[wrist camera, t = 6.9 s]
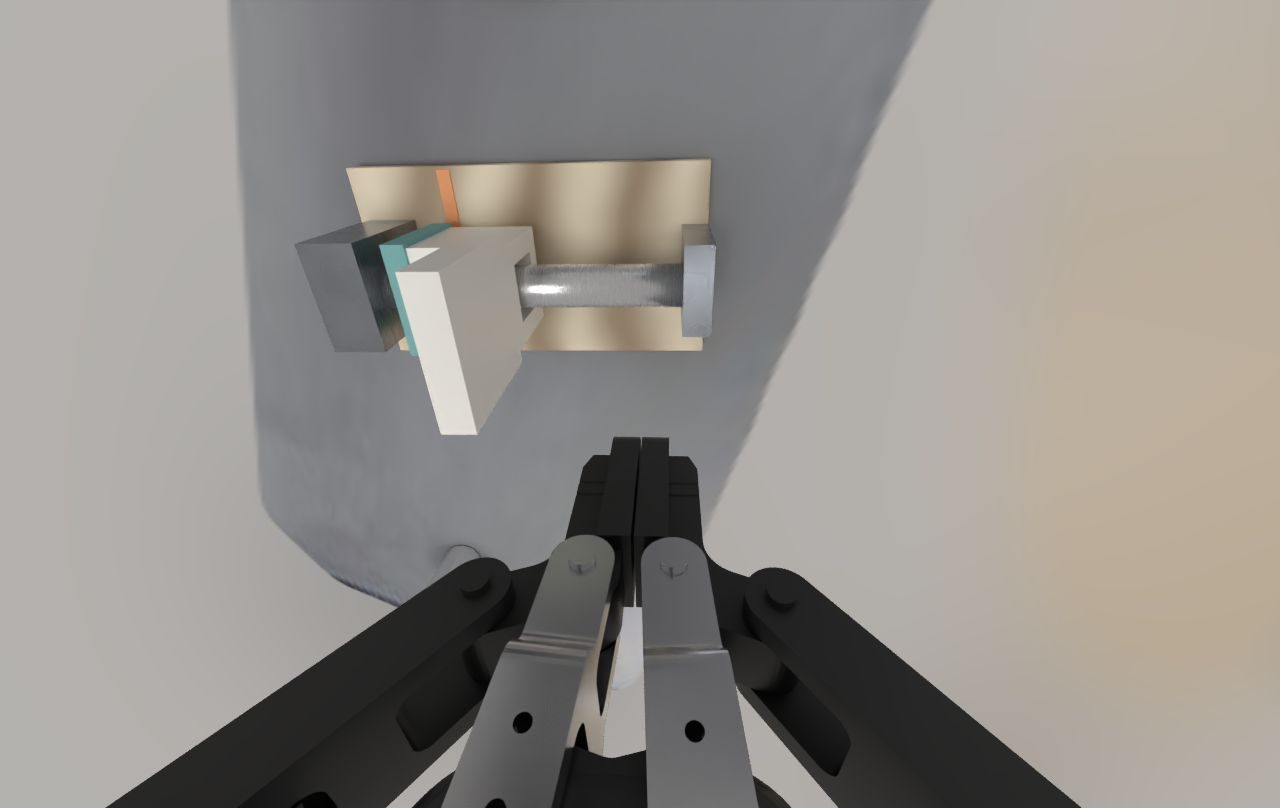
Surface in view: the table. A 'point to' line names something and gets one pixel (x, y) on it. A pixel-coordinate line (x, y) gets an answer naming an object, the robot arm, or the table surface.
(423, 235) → the thin teal tile
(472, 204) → the pipe stand
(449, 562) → the milkshake
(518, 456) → the table surface
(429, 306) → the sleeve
